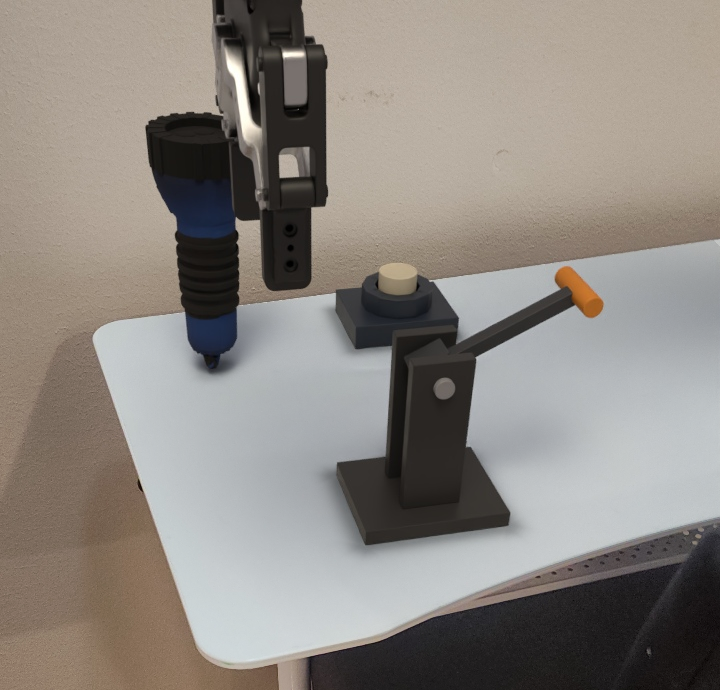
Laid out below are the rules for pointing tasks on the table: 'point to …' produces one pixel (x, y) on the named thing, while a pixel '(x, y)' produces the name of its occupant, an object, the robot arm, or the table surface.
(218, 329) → the flashlight
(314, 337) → the table surface
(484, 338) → the lever with orange handle
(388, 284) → the power button
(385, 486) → the lever pivot stand
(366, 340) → the block
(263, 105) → the robot arm
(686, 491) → the table surface
